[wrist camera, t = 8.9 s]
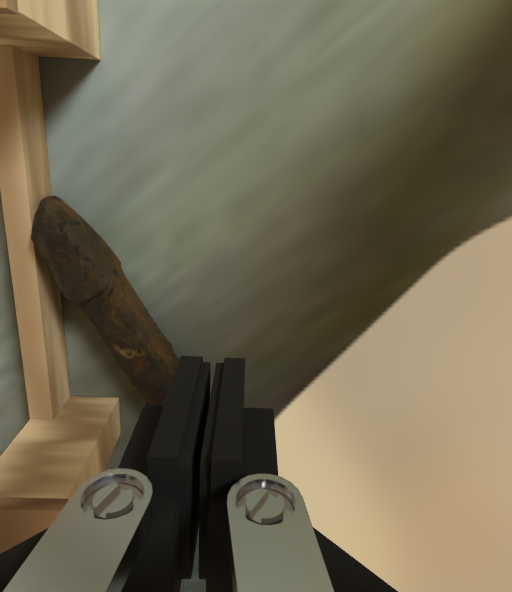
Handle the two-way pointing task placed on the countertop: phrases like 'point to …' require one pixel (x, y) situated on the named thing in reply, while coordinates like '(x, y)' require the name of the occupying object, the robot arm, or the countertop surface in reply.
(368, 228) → the countertop surface
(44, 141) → the wooden u-shaped stand
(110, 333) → the hand tool
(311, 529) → the robot arm
